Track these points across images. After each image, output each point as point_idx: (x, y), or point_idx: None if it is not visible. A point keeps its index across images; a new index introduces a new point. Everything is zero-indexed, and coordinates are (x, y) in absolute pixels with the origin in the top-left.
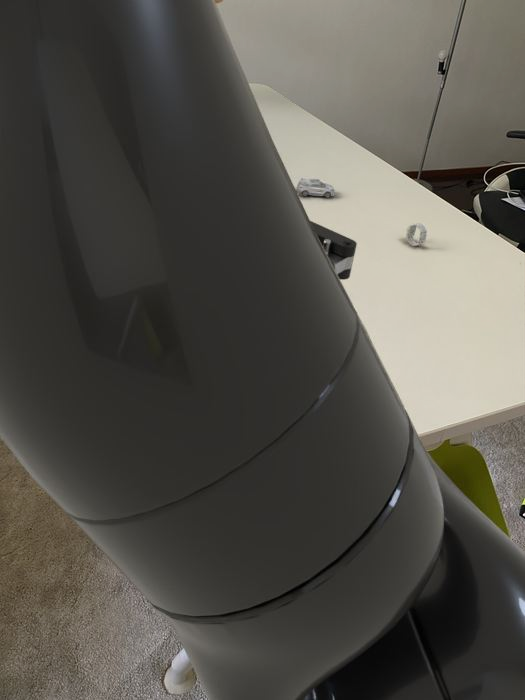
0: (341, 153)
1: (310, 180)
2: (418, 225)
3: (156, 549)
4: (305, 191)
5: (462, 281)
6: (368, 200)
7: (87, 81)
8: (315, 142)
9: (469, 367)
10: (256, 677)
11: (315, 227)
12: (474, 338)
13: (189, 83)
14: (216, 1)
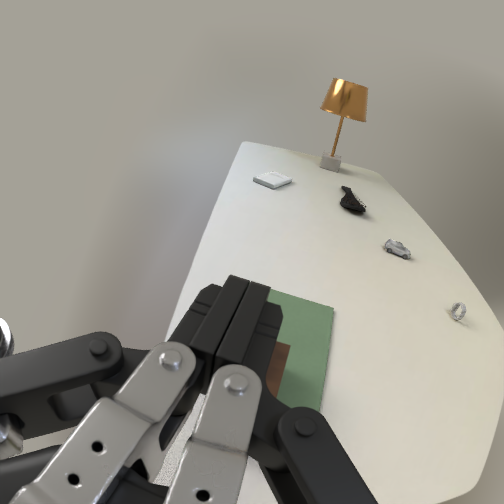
0: (419, 229)
1: (395, 242)
2: (462, 305)
3: None
4: (390, 249)
5: (477, 361)
6: (431, 269)
7: None
8: (404, 216)
9: (457, 451)
10: None
11: (350, 500)
12: (471, 421)
13: None
14: (361, 120)
